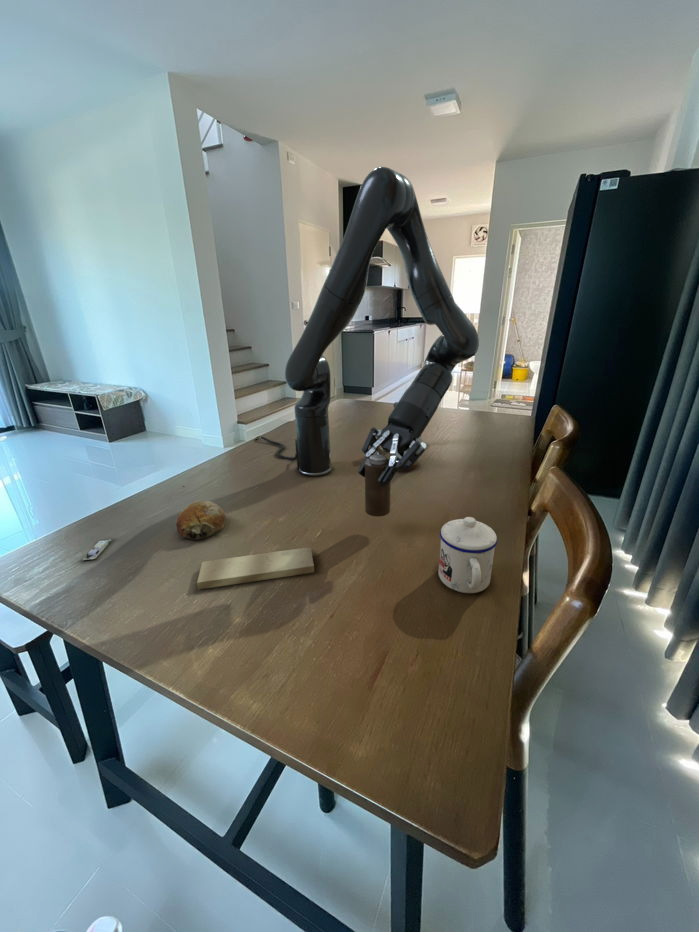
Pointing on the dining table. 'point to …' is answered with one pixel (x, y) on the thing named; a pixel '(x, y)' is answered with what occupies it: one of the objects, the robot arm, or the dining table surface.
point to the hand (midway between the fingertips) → (371, 479)
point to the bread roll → (200, 520)
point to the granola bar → (97, 549)
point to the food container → (417, 459)
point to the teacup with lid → (466, 555)
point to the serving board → (255, 568)
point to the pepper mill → (376, 487)
